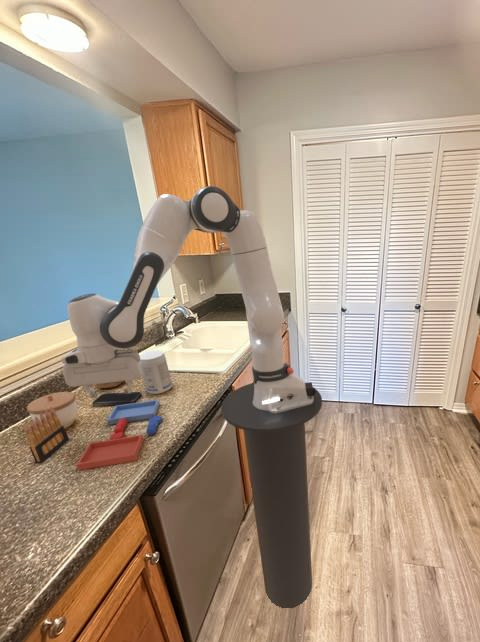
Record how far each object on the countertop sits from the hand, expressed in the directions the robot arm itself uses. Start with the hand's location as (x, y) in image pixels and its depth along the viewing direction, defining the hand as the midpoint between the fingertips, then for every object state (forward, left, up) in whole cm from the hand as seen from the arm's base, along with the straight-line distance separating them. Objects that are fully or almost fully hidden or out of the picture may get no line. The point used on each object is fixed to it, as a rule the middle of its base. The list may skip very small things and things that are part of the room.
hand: (111, 394), depth 98 cm
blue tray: (-2, -8, -12) cm, 15 cm away
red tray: (-1, +14, -12) cm, 18 cm away
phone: (+7, -21, -12) cm, 25 cm away
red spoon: (0, +2, -12) cm, 12 cm away
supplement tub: (-7, -26, -12) cm, 30 cm away
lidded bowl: (+21, -8, -12) cm, 26 cm away
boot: (+12, -39, -12) cm, 43 cm away
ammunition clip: (+17, +7, -12) cm, 22 cm away
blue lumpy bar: (-10, +2, -12) cm, 16 cm away
